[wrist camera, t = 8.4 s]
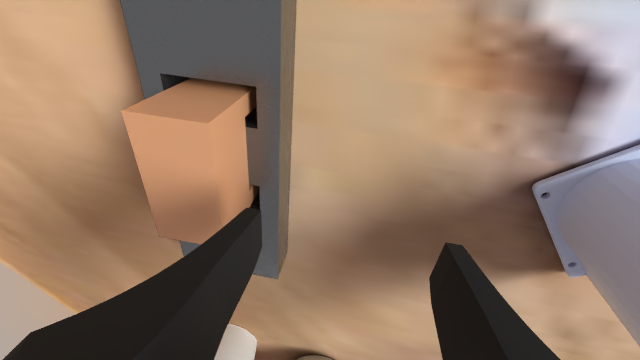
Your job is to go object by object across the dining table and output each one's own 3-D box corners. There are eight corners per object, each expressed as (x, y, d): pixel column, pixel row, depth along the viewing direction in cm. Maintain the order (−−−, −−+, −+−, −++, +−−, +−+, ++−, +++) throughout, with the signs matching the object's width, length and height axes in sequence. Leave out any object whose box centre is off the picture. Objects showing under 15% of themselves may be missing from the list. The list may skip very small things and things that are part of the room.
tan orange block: (264, 182, 22) (225, 248, 17) (214, 174, 23) (159, 236, 17) (261, 81, 18) (208, 123, 12) (201, 73, 18) (120, 110, 13)
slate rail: (287, 251, 26) (277, 279, 24) (202, 236, 27) (184, 261, 24) (299, -65, 14) (282, -77, 12) (144, -79, 15) (96, -94, 12)
